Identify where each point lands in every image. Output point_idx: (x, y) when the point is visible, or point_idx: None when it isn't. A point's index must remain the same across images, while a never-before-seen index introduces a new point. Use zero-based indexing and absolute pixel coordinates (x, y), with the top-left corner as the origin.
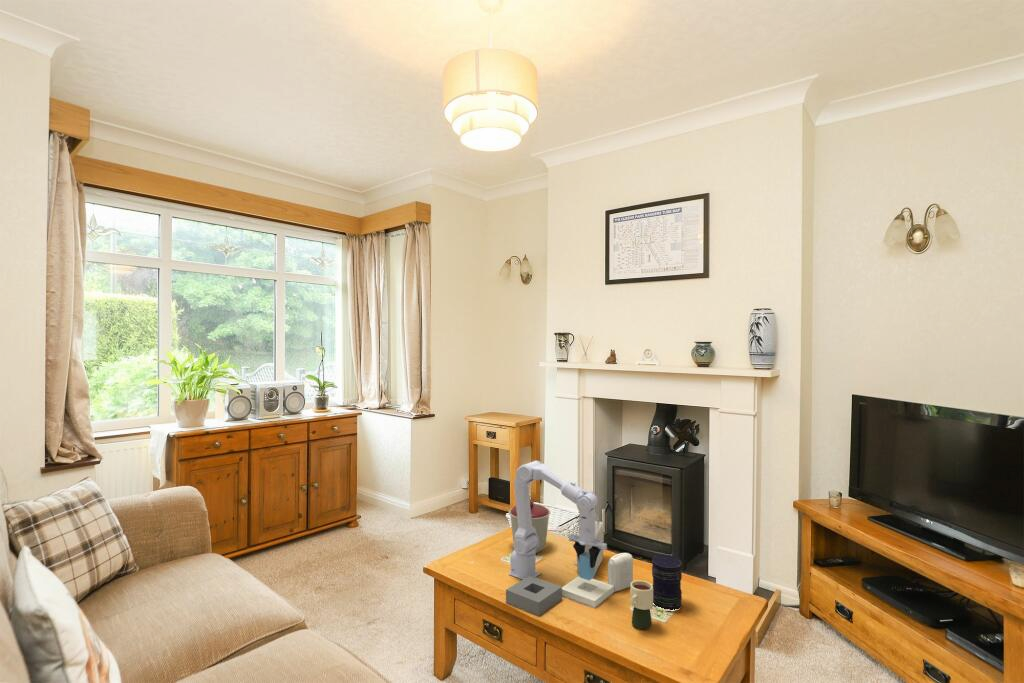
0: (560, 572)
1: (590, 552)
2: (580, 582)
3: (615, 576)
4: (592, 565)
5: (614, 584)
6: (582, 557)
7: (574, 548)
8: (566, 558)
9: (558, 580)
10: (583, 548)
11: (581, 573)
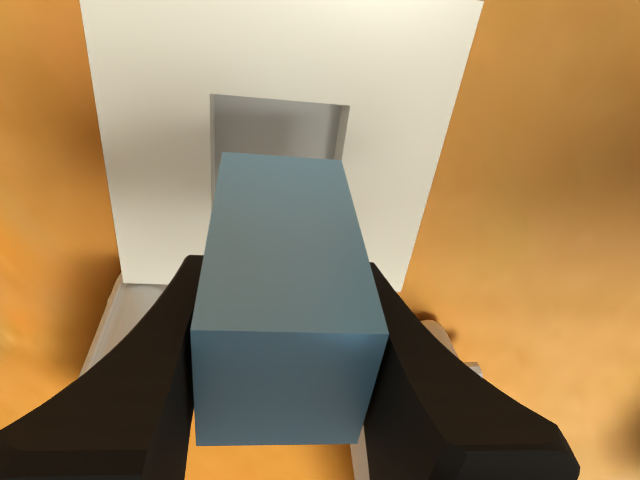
0: (543, 287)
1: (118, 421)
2: (358, 199)
3: (97, 339)
4: (175, 275)
5: (121, 291)
6: (326, 313)
7: (520, 408)
8: (543, 410)
9: (534, 199)
10: (381, 476)
11: (321, 182)
